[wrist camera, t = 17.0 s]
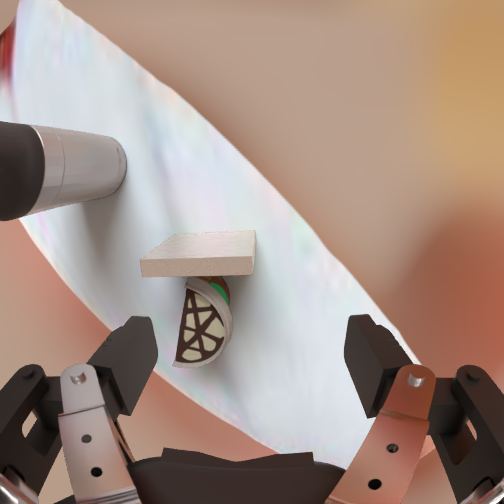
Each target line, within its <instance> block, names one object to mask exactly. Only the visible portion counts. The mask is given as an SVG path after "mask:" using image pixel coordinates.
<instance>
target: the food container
mask: <svg viewBox="0 0 504 504" xmlns="http://www.w3.org/2000/svg"><path fill="white" fill-rule="evenodd" d="M185 287H186V288H187V290H186V297H185V303H184V308H183V314H182V319H181V325H180V331H179V338H178V345H177V352H176V358H175V360H174V363H173V365H172V366H175V367H180V368H195V367H200V366H203V365H206V364H208V363H210V362H211V361H213V360H214V359H215V358H217V357H218V356H219V355H220V354H221V353H222V352H223V350H224V349H225V347H226V345H227V344H228V342H229V340H230V338H231V335H232V329H233V321H232V316H231V312H230V310H229V302H230V294H229V289H228V287H227V284H226V283H225V281H224V279H223V278H222V277H221V276H189V278H188V280H187V282H186V285H185Z"/></svg>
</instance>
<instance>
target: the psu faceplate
mask: <svg viewBox="0 0 504 504" xmlns="http://www.w3.org/2000/svg"><path fill="white" fill-rule="evenodd" d="M255 247H256V236H255V230H250V231H226V232H204V233H183V234H174V235H173V236H171V237H170V238H168V239H167V240H166V241H164V242H163V243H161V244H160V245H159V246H157V247H156V248H155V249H153V250H152V251H151V252H149V253H148V254H146V255H145V256H144V257H142V258H141V259H140V265H141V271H142V277H175V276H226V275H253V268H254V260H255Z"/></svg>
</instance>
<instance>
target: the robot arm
mask: <svg viewBox="0 0 504 504" xmlns="http://www.w3.org/2000/svg"><path fill="white" fill-rule="evenodd" d="M125 172H126V156H125V153H124V150H123V148H122V146H121V145H120V143H119V142H118V141H117V140H115V139H113V138H111V137H108V136H103V135H97V134H92V133H86V132H80V131H74V130H67V129H60V128H53V127H44V126H36V125H26V124H17V123H9V122H2V121H0V221H9V220H13V219H16V218H20V217H23V216H27V215H31V214H34V213H38V212H41V211H45V210H49V209H53V208H57V207H62V206H66V205H70V204H75V203H79V202H84V201H89V200H94V199H98V198H103V197H106V196H109V195H111V194H112V193H114V192H115V191H116V190H117V189H118V188H119V186H120V184H121V183H122V181H123V178H124V176H125ZM157 359H158V348H157V344H156V339H155V335H154V330H153V325H152V321H151V319H150V318H149V317H142V316H131V317H130V319H129V320H128V321H127V322H126V323H125V325H124V326H123V327H122V326H121V327H119V328H118V329H116V330H114V331H113V332H111V334H110V335H109V336H108V337H107V338H106V341H104V342H103V343H102V345H101V346H100V347H99V348H98V350H97V351H96V352H95V353H94V354H93V356H92V357H91V358H90V359H89V361H88V362H87V363H86V364H76V365H72V366H70V367H68V368H67V369H65V370H64V371H63V373H62V374H61V376H59V377H57V376H55V377H46V375H45V372H44V370H43V368H42V367H41V366H39V365H36V364H30V365H26V366H24V367H22V368H20V369H19V370H18V371H17V372H16V373H15V374H14V375H13V376H12V378H11V379H10V380H9V381H8V382H7V383H6V385H5V386H4V387H3V388H2V389H1V390H0V504H39V499H38V496H39V493H40V491H41V489H42V487H43V485H44V482H45V480H46V478H47V476H48V474H49V471H50V469H51V467H52V465H53V463H54V461H55V459H56V457H57V455H58V453H59V451H60V449H61V447H62V446H63V452H64V457H65V461H66V465H67V470H68V474H69V478H70V482H71V485H72V489H73V492H74V494H73V495H71V496H69V497H67V498H65V499H63V500H61V501H58V502H56V503H54V504H401V501H402V499H403V497H404V495H405V493H406V490H407V488H408V486H409V483H410V481H411V478H412V476H413V473H414V471H415V468H416V465H417V462H418V460H419V457H420V454H421V451H422V448H423V445H424V442H425V439H426V435H431V437H432V440H433V442H434V444H435V447H436V449H437V451H438V453H439V456H440V458H441V461H442V463H443V466H444V468H445V471H446V474H447V476H448V478H449V481H450V484H451V486H452V489H453V492H454V495H455V498H456V501H457V504H504V394H503V393H502V392H501V390H500V389H499V388H498V387H497V385H496V384H495V383H494V382H493V380H492V379H491V378H490V376H489V375H488V374H487V373H486V372H485V371H484V370H483V369H482V368H480V367H477V366H473V365H465V366H462V367H460V368H459V369H458V370H457V373H456V375H455V377H454V378H436V376H435V374H434V373H433V372H432V371H431V370H430V369H429V368H427V367H425V366H422V365H418V364H413V362H412V361H411V360H410V358H409V357H408V355H407V354H406V353H405V351H404V350H403V348H402V347H401V346H399V343H398V341H397V340H395V337H394V336H393V335H392V333H391V332H390V331H389V330H388V329H386V328H385V327H383V326H382V325H376V324H375V322H374V321H373V320H372V318H371V317H370V315H369V314H362V315H351V316H350V317H349V320H348V326H347V333H346V339H345V345H344V359H345V363H346V365H347V368H348V370H349V373H350V375H351V378H352V380H353V383H354V385H355V388H356V390H357V393H358V395H359V398H360V401H361V403H362V406H363V408H364V411H365V414H366V416H367V419H368V418H373V417H376V419H375V421H374V423H373V425H372V427H371V429H370V431H369V433H368V435H367V436H366V438H365V440H364V442H363V444H362V445H361V447H360V449H359V451H358V452H357V454H356V456H355V457H354V459H353V461H352V462H351V464H350V466H349V467H348V469H347V470H345V469H343V468H340V467H338V466H335V465H331V464H328V463H323V462H316V461H314V459H313V452H305V453H292V454H275V455H270V456H266V457H261V458H256V459H251V460H246V461H239V462H234V461H229V460H225V459H221V458H217V457H214V456H211V455H207V454H204V453H200V452H195V451H186V450H177V449H170V448H164V449H163V453H162V456H161V457H153V458H147V459H143V460H139V461H135V459H134V457H133V455H132V453H131V451H130V449H129V446H128V444H127V442H126V440H125V437H124V435H123V432H122V430H121V427H120V425H119V422H118V420H117V417H118V415H119V414H123V415H128V416H131V414H132V412H133V409H134V408H135V406H136V403H137V401H138V399H139V397H140V395H141V393H142V391H143V389H144V387H145V385H146V383H147V380H148V379H149V377H150V374H151V372H152V370H153V368H154V366H155V364H156V362H157ZM31 411H32V412H33V414H34V415H35V416H36V418H37V420H36V422H35V424H34V425H33V427H32V428H31V430H30V432H29V433H28V435H27V437H26V438H25V437H24V435H23V433H22V425H23V423H24V421H25V420H26V418H27V417H28V415H29V414H30V412H31ZM468 420H470V421H471V423H472V425H473V427H474V428H475V430H476V433H477V440H475V438H474V437H473V435H472V433H471V431H470V429H469V427H468V426H467V424H466V423H467V421H468Z"/></svg>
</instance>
